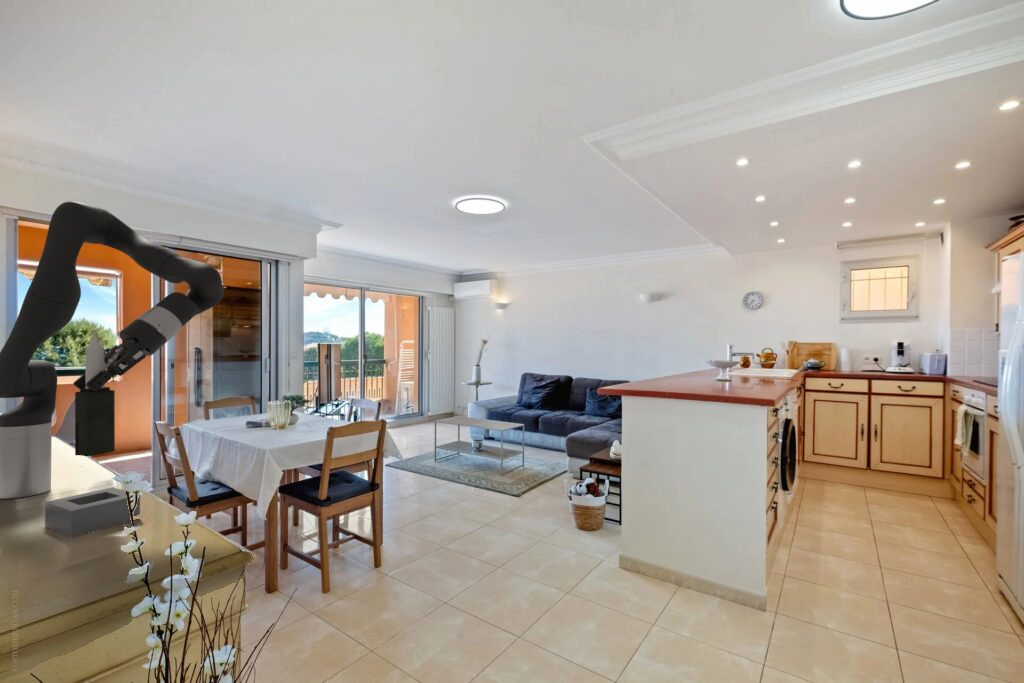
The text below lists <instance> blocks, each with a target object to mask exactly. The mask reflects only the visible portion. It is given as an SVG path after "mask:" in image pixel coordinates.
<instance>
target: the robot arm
mask: <svg viewBox="0 0 1024 683" xmlns="http://www.w3.org/2000/svg"><path fill="white" fill-rule="evenodd" d="M85 243H86V244H93V245H94V244H95V245H102V246H106V247H109V248H111V249H114V250H117V251H120V252H121V253H123V254H125V255H127V256H128V257H129V258H131V259H132V260H133V262H135V263H136V264H137V265H138V266H139V267H141V268H142V269H144V270H146V271H147V272H148V273H150V274H153V275H154V276H156V277H158V278H160V279H161V280H164V281H166V282H169V283H171V284H175V285H176V284H181V283H183V282H185V283H187V285H188V287H189V291H188V292H187V293H186V294H184V293H182V292H179V291H175V292H171V293H170V294H168V295H166V296H165V297H163V299H162V300H160V301H159V302H157V304H155V305H154V306H153V307H151V308H149V309H148V310H146V311H144V312H142V314H141V315H139V316H138V317H136V318H135V319H134V320H133V321H132V322H130V323H129V324H128V325H127V326H125V327H124V328H123V329H121V331H119V334H118V335H119V338H120V339H121V343H119V344H118V345H117V344H116V345H114V346H112V347H110V348H109V347H107V348H104V349H105V367H104V368H103V371H104V372H103V371H100V372H99V373H98V374H96V375H95V376H94V377H93V378H92V379H90V380H89V381H88V382H87V383H86V372H84V373H83V374H82V375H80V377H78V378H77V379H75V381H74V382H72V384H73V386H74V387H76V388H77V389H78V390H80V389H82V388H86V386H87V387H88V388H90V389H91V390H92V391H97V390H98V389H100V388H101V387H102V386H103V385H104V384H105V385H106V384H107V383H108V382H109V381H110V380H112V379H115V378H116V377H118V376H119V377H121V376H124V375H125V374H126V373H127V372H128V371H129V370H131V369H132V368H133V367H135V366H136V365H137V364H139V363H140V362H141V361H143V360H144V359H146V357H150V356H153V355H154V354H155V353H157V351H158V350H160V349H161V348H162V347H163V346H164V345H165V344H166V343H168V342H169V341H170V340H171V339H172V338H173V337H174V336H176V334H177V333H178V332H179V331H180V330H181V329H182V328H183V327H184V326H185V325H186V324H187V323H188V322H189V321H191V320H192V319H193V317H195V316H197V315H200V314H202V313H204V312H205V311H207V310H209V309H211V308H213V307H215V306H217V305H218V304H219V303H220V302H221V300H222V299H223V297H224V295H225V294H224V293H225V291H224V285H223V281H222V276H221V274H220V272H219V271H218V269H216V268H215V267H214V266H212V265H211V264H208V263H206V262H203V261H198V260H195V259H191V258H186V257H183V256H182V255H180V254H178V253H176V252H174V251H172V250H171V249H168V248H166V247H165V246H163V245H160V244H159V243H157V242H155V241H153V240H151V239H150V238H148V237H146V236H144V235H142V234H140V233H139V232H137V231H136V230H134V229H133V228H132V227H131V226H129V225H127V224H126V223H125V222H123V221H122V220H121V219H119V218H118V217H117V216H115V215H114V214H112V213H111V212H110V211H108V210H106V209H105V208H102V207H100V206H95V205H92V204H87V203H84V202H79V201H71V200H70V201H64V202H62V203H61V204H60V205H58V206H56V208H55V209H54V212H53V213H52V215H51V218H50V222H49V225H48V229H47V234H46V237H45V242H44V246H43V250H42V253H41V256H40V259H39V261H38V265H37V267H36V270H35V273H34V275H33V278H32V280H31V282H30V285H29V287H28V289H27V291H26V294H25V296H24V299H23V301H22V304H21V307H20V310H19V313H18V316H17V317H16V319H15V320H16V321H15V322H14V325H13V327H12V329H11V332H10V334H9V337H8V339H7V340H6V341H5V343H4V345H3V347H2V348H1V350H0V399H16V398H22V402H21V403H20V404H19V405H18V406H16V407H15V408H12V409H11V410H9V411H4V413H2V414H0V499H6V500H7V499H18V498H24V497H25V498H26V497H31V496H37V495H40V494H44V493H46V492H48V491H51V489H52V421H53V420H52V419H53V414H54V412H55V409H56V402H57V401H56V400H57V390H58V373H57V372H58V371H57V369H56V368H55V365H54V364H53V363H52V362H50V361H49V360H44V359H32V357H33V356H34V354H35V353H36V351H37V350H38V349H39V348H40V347H41V346H42V345H43V344H44V343H45V342H46V341H47V340H48V341H49V339H51V338H52V337H53V336H55V335H56V334H57V333H59V331H61V330H62V329H63V328H65V327H66V326H67V325H68V324H69V322H71V321H72V319H73V317H74V316H75V313H76V311H77V308H78V306H79V303H80V300H81V296H82V289H81V283H80V280H79V277H78V276H79V275H78V272H77V259H78V257H79V255H80V251H81V250H82V247H83V246H84V244H85Z"/></svg>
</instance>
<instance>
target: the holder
mask: <svg viewBox="0 0 1024 683" xmlns="http://www.w3.org/2000/svg"><path fill="white" fill-rule="evenodd" d="M126 491H127V490H124V489H119V488H115V487H108V488H103V489H99V490H93V491H90V492H85V493H80V494H75V495H71V496H66V497H61V498H57V499H52V500H48V501H45V502H44V503H45V506H44V528H46V527H47V529H49V528H50V529H49V530H51V529H52V530H51V531H54V532H56V531H57V532H56V533H58V534H61V533H62V534H61V535H63V534H65V535H64V536H66V535H67V536H66V537H68V536H70V537H69V538H71V537H72V538H75V537H74V536H76V537H79V536H82V535H81V534H83V535H85V533H87V534H89V533H88V532H90V533H93V532H92V531H94V532H97V530H98V531H101V530H104V529H108V528H112V527H115V526H119V525H122V523H123V524H126V523H130V522H131V521H130V513H129V509H128V505H127V497H126ZM139 514H140V515H141V494H139V498H138V502H137V507H136V509H135V511H134V516H137V515H139ZM124 522H126V523H124ZM78 535H79V536H78Z"/></svg>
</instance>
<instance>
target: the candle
mask: <svg viewBox="0 0 1024 683" xmlns="http://www.w3.org/2000/svg"><path fill="white" fill-rule="evenodd" d="M91 334H92V337H91V340H90V342H89V344H88V345H87V346H86V347H85V373H86V383H87V382H88V381H89V380H90V379H92V378H93V377H94V376H95V375H96V374H98V373H99V372H100V371H103V368H104V367H105V349H106V348H105V347H104V346H103V345H102V344H101V341H100V339H99V336H98V335H99V333H98V332H96V331H93V332H92V333H91ZM103 372H104V371H103ZM115 393H116V392H115V390H114V389H111V387H109V386H106V383H105V384H104V385H103V386H102V387H101V388H100V389H98V390H97V391H92V390H91V389H90V388H88V387H87V386H86V388H82V389H79V391H75V392H74V440H75V441H74V454H75V456H84V457H93V456H98V455H103V454H104V455H105V454H109V453H114V452H115V450H116V449H115V448H116V447H115V444H116V443H115V441H116V440H115V439H116V433H115V431H116V430H115V427H116V425H115V424H116V423H115V420H116V419H115V418H116V417H115V416H116V415H115V407H116V406H115V397H116V396H115V395H116V394H115Z"/></svg>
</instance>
